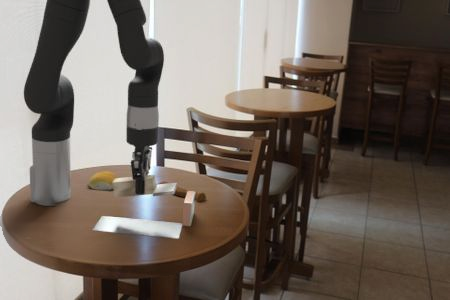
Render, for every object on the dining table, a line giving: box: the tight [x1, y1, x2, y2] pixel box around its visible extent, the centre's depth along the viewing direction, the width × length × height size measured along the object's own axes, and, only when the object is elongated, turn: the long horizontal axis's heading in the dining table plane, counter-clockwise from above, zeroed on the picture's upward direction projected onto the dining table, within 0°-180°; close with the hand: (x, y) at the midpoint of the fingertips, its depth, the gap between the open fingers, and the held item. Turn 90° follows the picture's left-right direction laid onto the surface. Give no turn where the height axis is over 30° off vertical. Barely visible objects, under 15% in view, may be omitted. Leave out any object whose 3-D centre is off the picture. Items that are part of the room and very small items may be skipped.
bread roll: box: [88, 170, 119, 191], centre depth 137 cm, size 8×9×4 cm
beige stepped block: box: [112, 174, 178, 198], centre depth 116 cm, size 15×6×4 cm, turn 88°
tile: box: [182, 190, 196, 227], centre depth 117 cm, size 2×8×7 cm, turn 178°
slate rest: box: [92, 215, 183, 240], centre depth 111 cm, size 20×8×1 cm, turn 88°
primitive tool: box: [156, 181, 207, 202], centre depth 136 cm, size 19×6×4 cm, turn 52°
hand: (141, 191), depth 116 cm, fingers closed on beige stepped block, 3 cm apart
